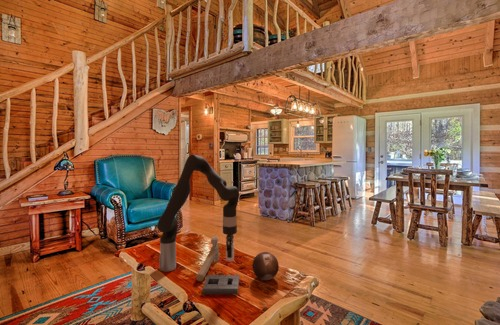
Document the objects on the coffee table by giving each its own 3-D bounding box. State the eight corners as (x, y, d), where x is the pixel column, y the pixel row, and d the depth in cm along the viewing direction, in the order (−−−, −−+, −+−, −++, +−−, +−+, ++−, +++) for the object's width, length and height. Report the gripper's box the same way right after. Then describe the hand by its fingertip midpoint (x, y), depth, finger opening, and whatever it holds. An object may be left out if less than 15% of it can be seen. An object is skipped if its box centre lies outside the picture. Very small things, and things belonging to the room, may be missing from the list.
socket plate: (202, 294, 129) (202, 288, 128) (207, 280, 143) (207, 274, 142) (237, 294, 128) (237, 288, 128) (239, 280, 142) (239, 275, 142)
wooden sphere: (259, 288, 134) (259, 260, 134) (248, 275, 148) (248, 250, 147) (283, 282, 140) (283, 255, 140) (270, 270, 154) (270, 246, 153)
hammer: (202, 266, 138) (218, 236, 167) (194, 266, 139) (211, 236, 167) (205, 290, 142) (220, 257, 171) (197, 289, 143) (213, 256, 172)
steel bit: (225, 261, 133) (225, 246, 132) (226, 258, 137) (226, 243, 136) (233, 261, 133) (233, 246, 132) (234, 258, 137) (234, 243, 136)
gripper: (224, 220, 141) (224, 250, 142) (221, 228, 127) (221, 261, 128) (237, 220, 141) (237, 250, 142) (235, 228, 127) (236, 261, 128)
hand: (229, 255), depth 135 cm, fingers closed on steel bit, 4 cm apart
